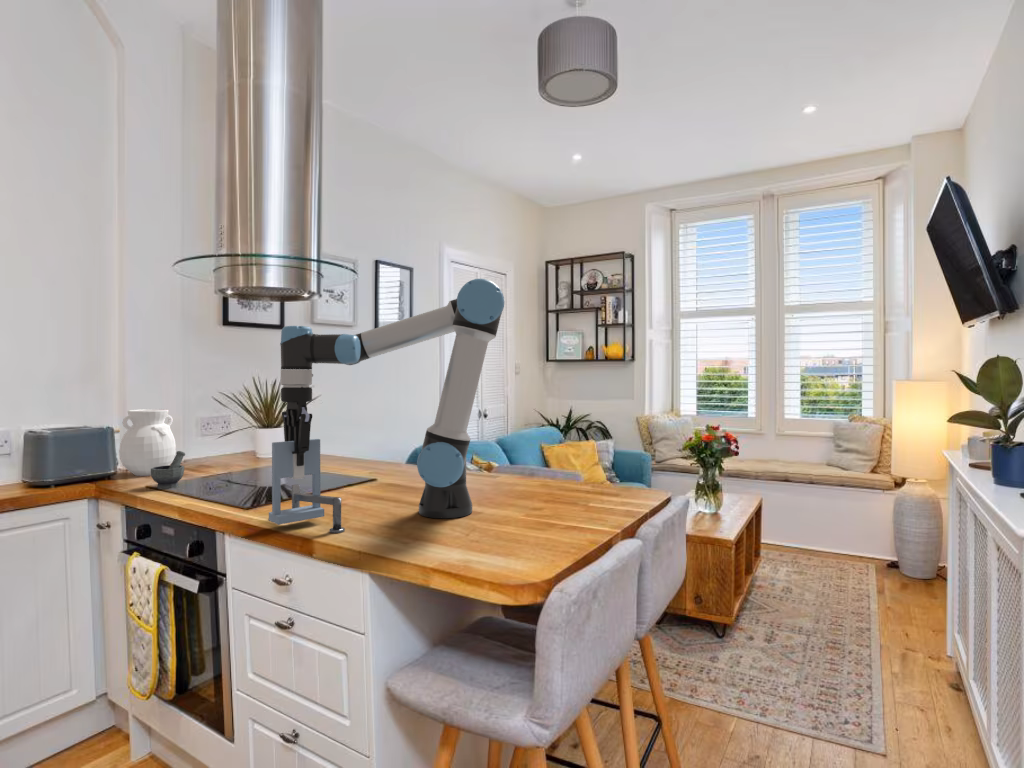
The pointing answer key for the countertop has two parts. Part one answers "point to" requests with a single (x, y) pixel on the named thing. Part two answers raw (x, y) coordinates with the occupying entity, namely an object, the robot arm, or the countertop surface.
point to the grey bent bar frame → (322, 500)
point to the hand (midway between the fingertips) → (296, 477)
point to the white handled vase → (147, 441)
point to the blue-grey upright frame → (284, 469)
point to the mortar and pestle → (169, 473)
